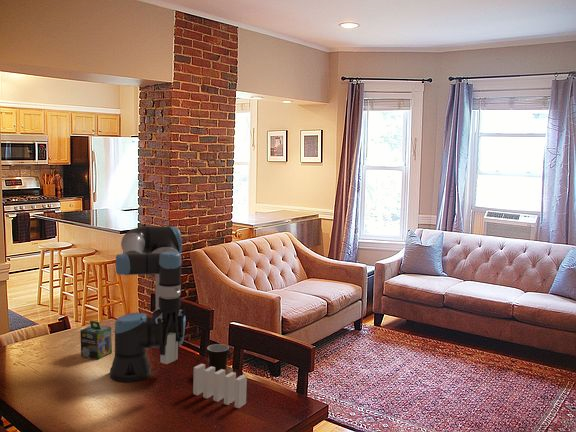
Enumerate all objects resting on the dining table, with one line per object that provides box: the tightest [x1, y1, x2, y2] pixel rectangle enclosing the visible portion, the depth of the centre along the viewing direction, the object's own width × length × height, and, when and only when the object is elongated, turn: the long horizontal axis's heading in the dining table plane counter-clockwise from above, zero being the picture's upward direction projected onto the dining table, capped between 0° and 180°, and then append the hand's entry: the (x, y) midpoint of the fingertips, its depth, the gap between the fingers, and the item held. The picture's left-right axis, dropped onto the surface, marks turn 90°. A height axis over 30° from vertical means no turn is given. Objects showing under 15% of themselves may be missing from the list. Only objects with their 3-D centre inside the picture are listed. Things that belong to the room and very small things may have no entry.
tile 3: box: [202, 366, 215, 399], centre depth 189 cm, size 2×4×10 cm, turn 151°
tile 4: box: [212, 369, 227, 403], centre depth 187 cm, size 2×4×10 cm, turn 151°
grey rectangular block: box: [234, 374, 248, 409], centre depth 183 cm, size 2×4×10 cm, turn 151°
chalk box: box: [80, 320, 113, 361], centre depth 224 cm, size 9×9×15 cm
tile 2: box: [192, 363, 206, 396], centre depth 191 cm, size 2×4×10 cm, turn 151°
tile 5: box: [223, 371, 237, 406], centre depth 185 cm, size 2×4×10 cm, turn 151°
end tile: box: [166, 332, 176, 365], centre depth 187 cm, size 2×4×10 cm, turn 150°
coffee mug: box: [206, 343, 230, 372], centre depth 212 cm, size 12×9×10 cm
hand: (169, 360), depth 188 cm, fingers closed on end tile, 4 cm apart
